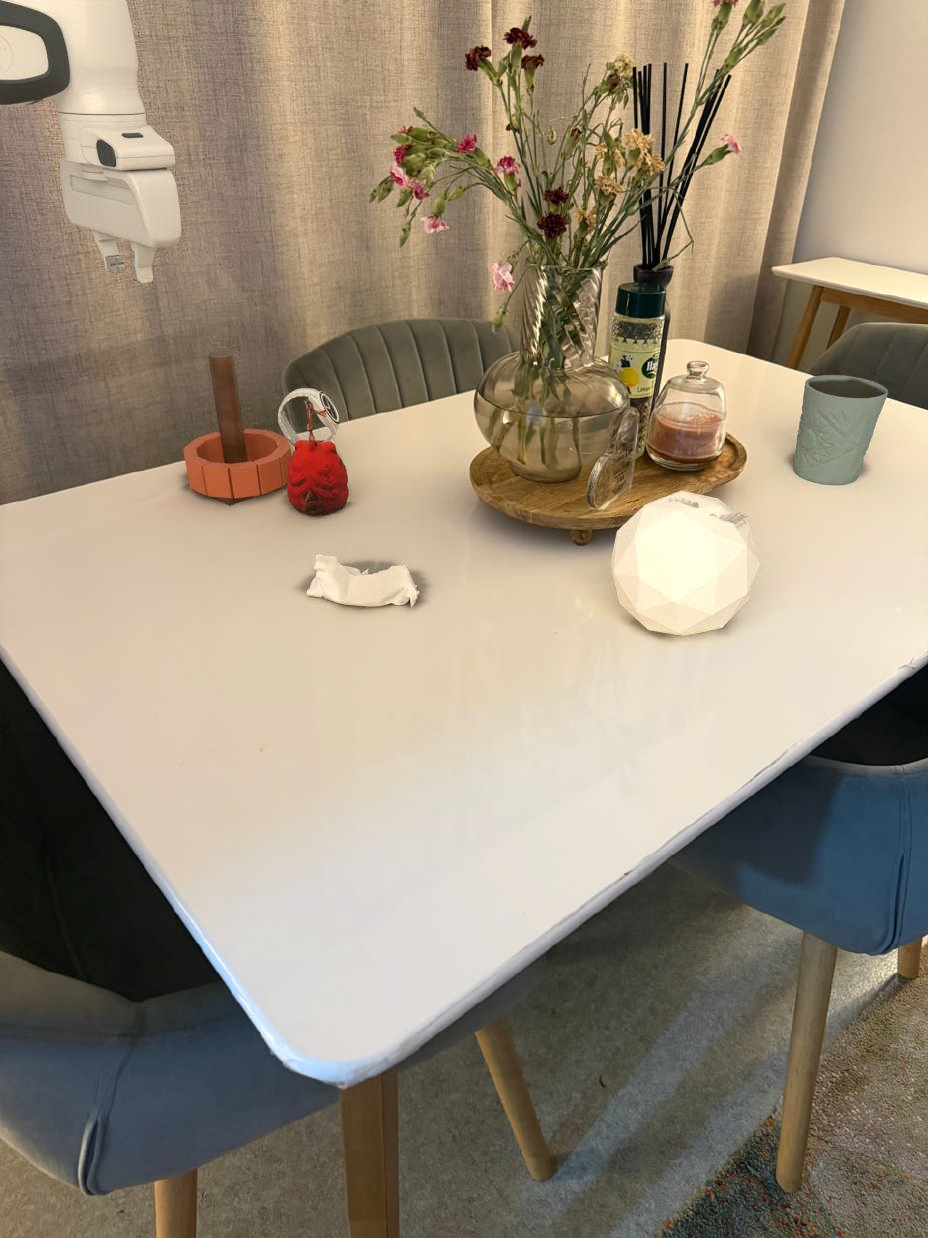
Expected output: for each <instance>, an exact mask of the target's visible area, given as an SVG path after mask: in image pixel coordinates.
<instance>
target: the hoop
mask: <svg viewBox="0 0 928 1238" xmlns="http://www.w3.org/2000/svg"><path fill="white" fill-rule="evenodd" d="M244 436H245V443H246V450H247V458H248V462H242V463H234V464H226V463H224V458H223V452H222V445H221V438H220V432H219V431H215V432H211V433H208V434H205V435H202V436H199V437H197V438H195V439H193V440H192V441H191V442H189V443H188V444H187V445H186V446H184V447H183V456H184V457H183V458H184V462H185V469H186V473H187V478H188V484H189V488H190V489H191V490H193V491H195V492H197V493H198V494H201V495H203V496H207V497H211V498H214V497H221V498H233V497H234V498H243V497H250V496H255V497H257V496H261V495H265V494H267V493H271V492H272V491H275V490H278V489H280V488H283V487H286V485H285V484H286V483H287V484H288V481H287V473H288V465H289V462H290V459H291V456H292V455H293V454H292V448H291V447H292V445H291V443H290V442H289V441H288V440H287V438H286V437H285V435H282V434H280V433H278V432H275V431H272V430H268V429H259V428H257V429H255V428H247V427H246V428H245V429H244ZM260 493H261V494H260Z"/></svg>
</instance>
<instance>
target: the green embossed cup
mask: <svg viewBox="0 0 928 1238" xmlns="http://www.w3.org/2000/svg"><path fill="white" fill-rule="evenodd" d="M888 393H889V390H888V388H887V387H885V386H884V385H882V384H880V383H878V382H876V381H873V380H869V379H866V378H861V377H856V376H852V375H842V374H823V375H816V376H812V377H809V378H808V379H806V380H805V382H804V389H803V395H802V405H801V414H800V417H799V423H798V430H797V436H796V443H795V450H794V455H793V461H792V469H793V472H794V473H795V474H796V475H797V476H798V477H800V478H802V479H805V480H807V481H809V482H812V483H817V484H821V485H830V486H840V485H841V486H842V485H843V486H844V485H849V484H852V483H854V482H856V480H858V477H859V476H860V473H861V470H862V467H863V464H864V457H865V456H866V455H867V452H868V450H869V447H870V443H871V441H872V439H873V436H874V432H875V431H874V430H875V429H876V425H877V422H878V421H879V416H880V415H881V414H882V413H881V412H882V410H883V408H884V405H885V403H886V400H887V397H888V395H889V394H888Z"/></svg>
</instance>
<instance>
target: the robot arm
mask: <svg viewBox="0 0 928 1238" xmlns="http://www.w3.org/2000/svg"><path fill="white" fill-rule="evenodd" d="M139 66H140V65H139V59H138V51H137V45H136V39H135V34H134V28H133V23H132V18H131V14H130V10H129V5H128V2H127V0H0V107H1V108H19V107H23V106H30V105H35V104H38V103H40V102H42V101H44V100H45V99H50V100H52V101H53V102H54V104H55V105H56V110H57V114H58V115H57V116H58V121H59V126H60V131H61V137H62V141H63V142H62V143H63V155H62V156H61V157H60V160H59V177H60V185H61V193H62V199H63V206H64V211H65V214H66V216H67V218H68V220H69V222H70V224H72V225H74V226H78V227H82V228H85V229H88V230H92V233H93V239H94V241H95V243H96V245H97V248H98V250H99V252H100V254H101V256H102V259H103V263H104V268H105V270H106V271H107V272H109V273H113V274H123V273H124V272H125V271H126V266H125V259H124V255H121V254H120V251H119V248H118V244H117V242H116V240H117V239H120V240H121V239H122V240H125V241H128V242H130V246H131V251H132V252H134V262H133V264H132V265H130V268H131V273H132V279H133V281H135V282H138V283H141V284H149V283H152V282H153V281H154V273H153V263H154V259H155V255H156V248H166V247H173V246H177V245H178V244H179V242H180V240H181V236H182V217H181V211H180V210H181V208H180V199H179V193H178V187H177V182H176V179H175V176H174V174H173V173H172V171H171V170H170V169H169V168H175V166H176V154H175V153H176V152H175V148H174V147H173V145H172V144H171V143H170V142H168V141H167V140H165V139H164V138H163V137H162V136H161V135H159V134H158V133H157V132H156V131H155V129H154V128H153V127H152V126H151V125H149V124H148V121H147V114H146V108H145V104H144V103H143V100H142V97H141V95H140V91H139V84H138V83H139V82H138V75H139Z"/></svg>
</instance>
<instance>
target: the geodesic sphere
mask: <svg viewBox="0 0 928 1238" xmlns="http://www.w3.org/2000/svg"><path fill="white" fill-rule="evenodd" d="M748 517H749V515H748V514H747V515H746V513H744V514H741V511H739V512H735V511H733V509H732V508H730V507H729V506H728V505H727V504H725V502H723V501H722V500H721V499H719V498H718V497H714V496H708V495H704V494H700V493H695V492H689V491H685V490H679V491H677V492H674V493H671V494H670V495H666V496H663V497H661V498H659V499H656V500H653V501H650V502H647V503H645V504H644V505H643V506H641V508H640V509H639V510H638V511H637V512H636V513H634V514H633V516H631V517H630V518H629V519H628V520H627V521H626V522H625V523H624V524H623V525H622V526H621V527H619V529H618V530H617V531H616V534H615V538H614V544H613V548H612V553H611V558H610V562H609V569H610V573H611V577H612V581H613V584H614V587H615V591H616V595H617V599H618V602H619V603H618V604H619V605H621V606H622V608H624V609H625V610H626V611H627V612H628V614H630V615H631V616H633V618H635V619H636V620H637V621H638V622H639V623H640V624H641V626H643V627H644V628H645V629H646V630H648V631H650V632H651V631H652V632H657V633H663V634H669V635H675V636H680V637H687V636H692V635H697V634H701V633H705V632H709V631H713V630H719V629H722V628H723V627H724V626H725V625H727V623H728V622H729V621H730V620H731V619H732V618H733V617H734V616H735V615H736V614H737V613H738V612H739V610H740V609H742V607H743V606H744V605H745V604H746V603H747V601H749V600H750V597H751V594H752V591H753V588H754V586H755V582H756V580H757V576H758V573H759V570H760V567H761V560H760V557H759V553H758V550H757V547H756V543H755V540H754V536H753V533H752V530H751V525H750V524H749V523H748V522H747V521H745V519H747V518H748Z"/></svg>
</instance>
